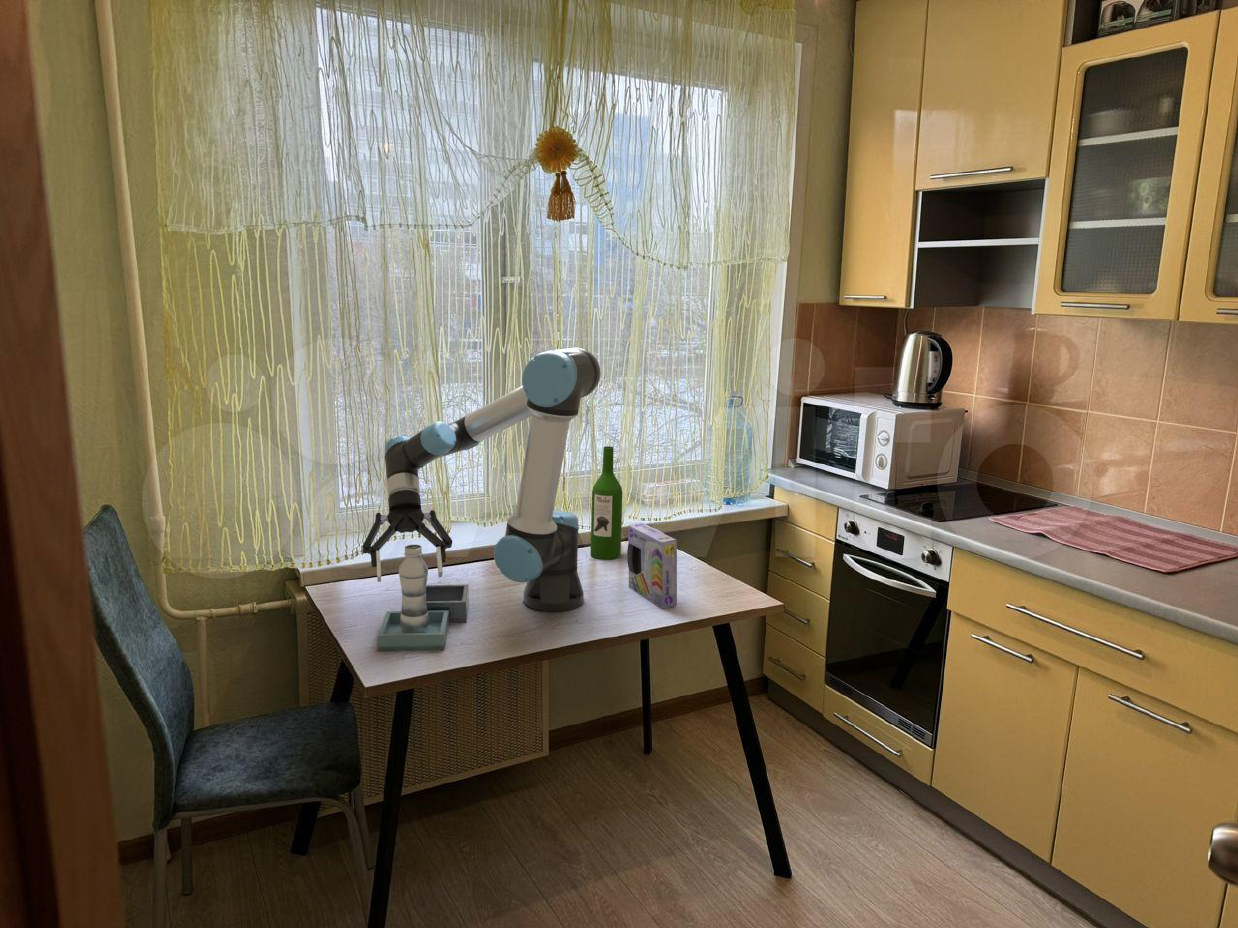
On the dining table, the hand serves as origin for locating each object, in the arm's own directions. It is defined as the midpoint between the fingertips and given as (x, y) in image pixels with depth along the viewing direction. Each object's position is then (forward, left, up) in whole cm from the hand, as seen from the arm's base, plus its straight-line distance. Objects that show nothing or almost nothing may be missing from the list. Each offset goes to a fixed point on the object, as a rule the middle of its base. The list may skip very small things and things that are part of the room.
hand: (410, 577), depth 196 cm
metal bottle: (-1, +6, -11) cm, 13 cm away
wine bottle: (-50, -51, -12) cm, 73 cm away
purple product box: (-58, -17, -12) cm, 62 cm away
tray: (-1, +6, -12) cm, 14 cm away
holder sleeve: (-6, -8, -12) cm, 16 cm away
